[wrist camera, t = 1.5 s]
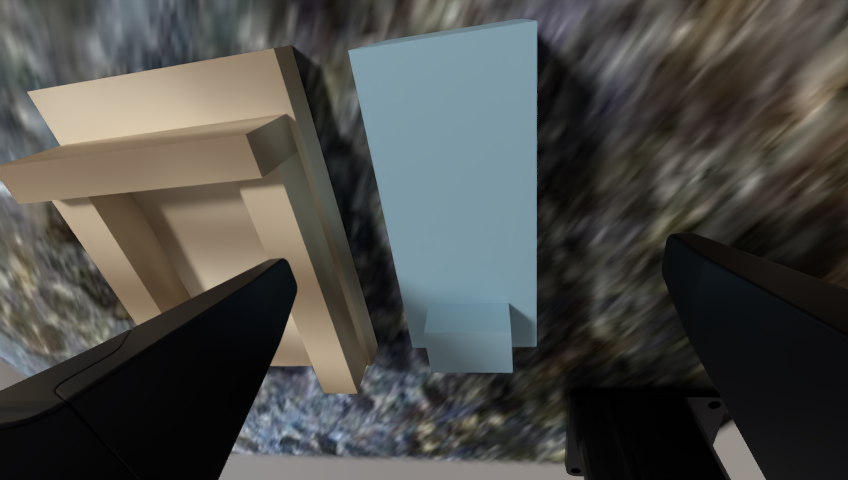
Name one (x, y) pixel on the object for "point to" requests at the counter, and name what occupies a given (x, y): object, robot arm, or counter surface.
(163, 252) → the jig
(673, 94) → the counter surface
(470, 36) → the blue stepped block
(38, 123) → the counter surface
